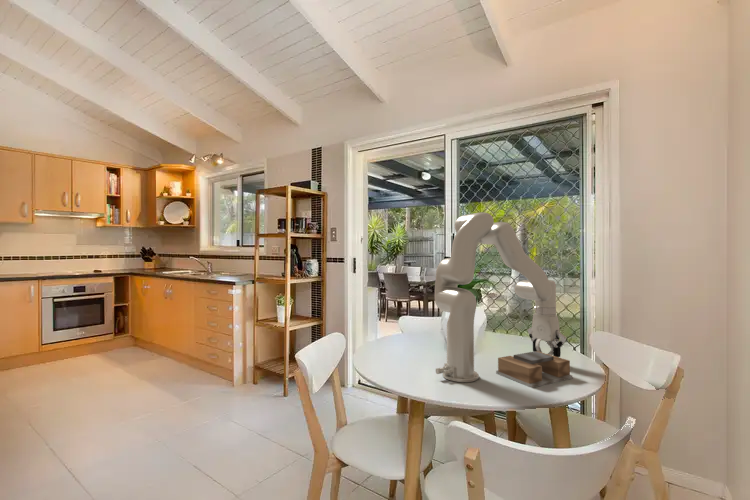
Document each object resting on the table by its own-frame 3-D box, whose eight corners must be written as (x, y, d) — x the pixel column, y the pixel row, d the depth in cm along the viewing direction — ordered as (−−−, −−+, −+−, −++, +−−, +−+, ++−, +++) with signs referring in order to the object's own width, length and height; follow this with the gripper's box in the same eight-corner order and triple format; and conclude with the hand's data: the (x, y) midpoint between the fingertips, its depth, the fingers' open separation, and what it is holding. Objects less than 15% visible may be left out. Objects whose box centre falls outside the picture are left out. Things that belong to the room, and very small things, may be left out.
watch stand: (531, 387, 122) (531, 365, 122) (496, 373, 136) (496, 353, 136) (572, 378, 130) (572, 357, 131) (535, 365, 145) (535, 347, 145)
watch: (559, 365, 145) (559, 337, 145) (540, 366, 144) (540, 338, 144) (550, 361, 151) (550, 334, 151) (532, 362, 150) (532, 335, 150)
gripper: (521, 308, 154) (522, 350, 154) (558, 315, 138) (558, 361, 138) (534, 307, 157) (535, 347, 157) (571, 313, 141) (572, 358, 141)
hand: (546, 354), depth 148 cm, fingers open, 9 cm apart
